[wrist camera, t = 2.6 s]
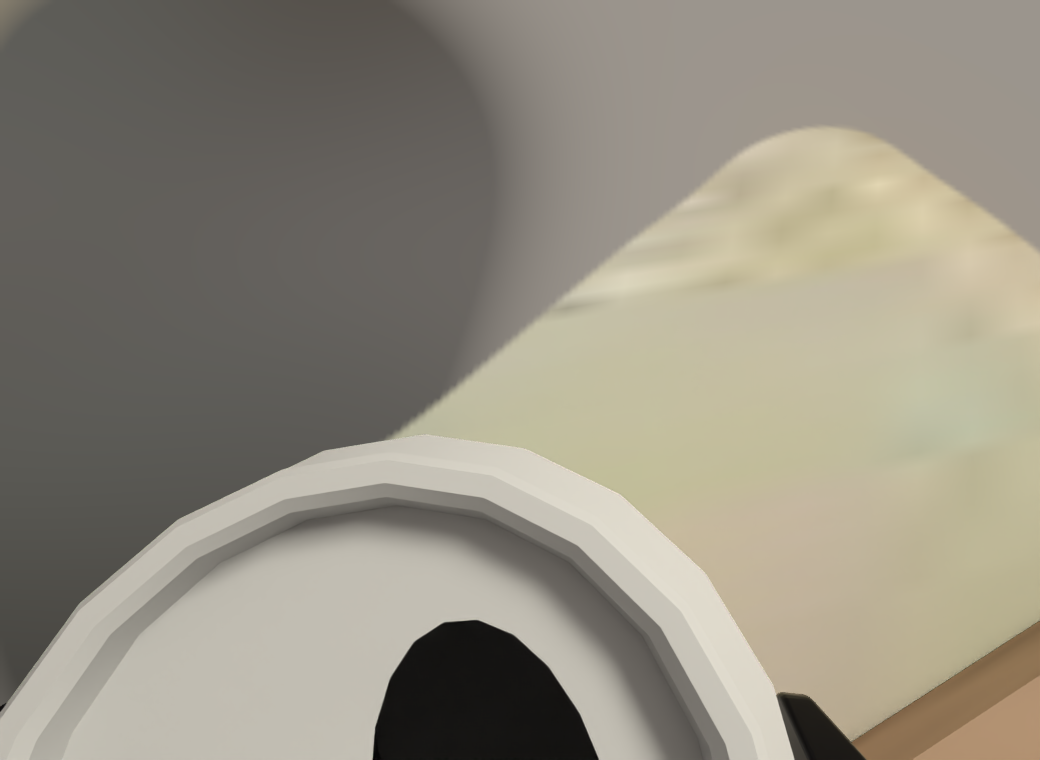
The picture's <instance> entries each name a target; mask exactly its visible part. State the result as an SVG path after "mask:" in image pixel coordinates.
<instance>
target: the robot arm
mask: <svg viewBox="0 0 1040 760" xmlns="http://www.w3.org/2000/svg"><path fill="white" fill-rule="evenodd" d="M776 697H777V700H778V704H779V707H780V711H781V714H782V718H783V721H784V725H785V728H786V732H787V735H788V739H789V742H790V746H791V749H792V753H793V756H794V760H867V759H866V758H865V757H864V756H863V755H862V754H861V753H860V751H859V750H858V749H857V748H856V747H855V746H854V745H853V744H852V743H851V742H850V740H849V739H848V738H847V737H846V736H845V735H844V734H843V733H842V732H841V731H840V729H839V728H838V727H837V726H836V725H835V724H834V723H833V722H832V721H831V719H830V718H829V717H828V716H827V715H826V714H825V713H824V712H823V711H822V710H821V708H820V707H819V706H818V705H817V704H816V703H815V702H814V701H813V700H812V699H811V698H810V697H808V696H806V695H803V694H795V693H785V692H780V693H778V694H777V695H776ZM6 704H7V703H5V704H3V705H2V706H0V712H1V711H2V709H3V708H4V707H5V705H6Z"/></svg>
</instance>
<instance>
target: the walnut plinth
mask: <svg viewBox="0 0 1040 760" xmlns="http://www.w3.org/2000/svg"><path fill="white" fill-rule="evenodd" d="M851 743H852V744H853V745H854V746H855V747H856V748H857V749H858V750H859V751H860V753H861V754H862V755H863V756H864V757H865V758H866V759H867V760H1040V621H1039V622H1037V623H1036V624H1034V625H1033V626H1031V627H1030V628H1028V629H1026V630H1025V631H1023V632H1022V633H1020V634H1019V635H1017V636H1016V637H1014V638H1012V639H1011V640H1009V641H1008V642H1006V643H1005V644H1003V645H1002V646H1000V647H999V648H997V649H995V650H994V651H992V652H991V653H989V654H988V655H986V656H985V657H983V658H981V659H980V660H978V661H977V662H975V663H974V664H972V665H971V666H969V667H967V668H966V669H964V670H963V671H961V672H960V673H958V674H957V675H955V676H954V677H952V678H950V679H949V680H947V681H946V682H944V683H943V684H941V685H940V686H938V687H936V688H935V689H933V690H932V691H930V692H929V693H927V694H926V695H924V696H922V697H921V698H919V699H918V700H916V701H915V702H913V703H912V704H910V705H909V706H907V707H905V708H904V709H902V710H901V711H899V712H898V713H896V714H895V715H893V716H891V717H890V718H888V719H887V720H885V721H884V722H882V723H881V724H879V725H877V726H876V727H874V728H873V729H871V730H870V731H868V732H867V733H865V734H864V735H862V736H860V737H859V738H857V739H856V740H854V741H853V742H851Z"/></svg>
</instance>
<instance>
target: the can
mask: <svg viewBox="0 0 1040 760" xmlns="http://www.w3.org/2000/svg"><path fill="white" fill-rule="evenodd" d="M0 760H794V756H793V753H792V749H791V746H790V742H789V739H788V735H787V732H786V728H785V725H784V721H783V718H782V714H781V711H780V707H779V704H778V700H777V697H776V693H775V690H774V686H773V684H772V683H771V681H770V679H769V678H768V676H767V674H766V673H765V671H764V669H763V668H762V666H761V664H760V663H759V661H758V659H757V658H756V656H755V654H754V653H753V651H752V650H751V648H750V646H749V645H748V643H747V641H746V640H745V638H744V636H743V635H742V633H741V631H740V630H739V628H738V626H737V625H736V623H735V621H734V620H733V618H732V616H731V615H730V613H729V611H728V610H727V608H726V606H725V605H724V603H723V602H722V600H721V598H720V597H719V595H718V593H717V592H716V590H715V588H714V587H713V585H712V583H711V582H710V580H709V578H708V577H707V575H706V573H705V572H704V571H703V570H701V569H700V568H699V567H698V566H697V565H696V564H695V563H694V562H693V561H692V560H691V559H690V558H688V557H687V556H686V555H685V554H684V553H683V552H682V551H681V550H680V549H679V548H678V547H677V546H675V545H674V544H673V543H672V542H671V541H670V540H669V539H668V538H667V537H666V536H665V535H664V534H663V533H661V532H660V531H659V530H658V529H657V528H656V527H655V526H654V525H653V524H652V523H651V522H650V521H648V520H647V519H646V518H645V517H644V516H643V515H642V514H641V513H640V512H639V511H638V510H637V509H635V508H634V507H633V506H632V505H631V504H630V503H629V502H628V501H627V500H626V499H625V498H624V497H622V496H621V495H620V494H618V493H616V492H614V491H612V490H610V489H608V488H606V487H604V486H602V485H600V484H598V483H596V482H594V481H591V480H589V479H587V478H585V477H583V476H581V475H579V474H577V473H575V472H573V471H571V470H569V469H567V468H564V467H562V466H560V465H558V464H556V463H554V462H552V461H550V460H548V459H546V458H544V457H542V456H540V455H537V454H535V453H533V452H531V451H529V450H527V449H525V448H518V447H511V446H504V445H497V444H490V443H483V442H476V441H469V440H462V439H455V438H448V437H441V436H434V435H427V434H423V435H417V436H411V437H405V438H399V439H393V440H387V441H381V442H374V443H368V444H362V445H356V446H351V447H344V448H338V449H331V450H325V451H323V452H321V453H318V454H316V455H315V456H312V457H310V458H308V459H306V460H304V461H302V462H300V463H298V464H296V465H294V466H291V467H289V468H287V469H283V470H281V471H279V472H276V473H274V474H272V475H270V476H268V477H266V478H264V479H262V480H260V481H257V482H255V483H253V484H251V485H249V486H248V487H245V488H243V489H241V490H239V491H237V492H235V493H232V494H231V495H228V496H226V497H224V498H222V499H220V500H218V501H216V502H214V503H212V504H210V505H207V506H205V507H203V508H201V509H199V510H197V511H195V512H193V513H191V514H189V515H187V516H185V517H182V518H181V519H178V520H177V521H176V522H175V523H173V524H172V525H171V526H170V527H169V528H168V529H166V530H165V531H164V532H163V533H162V534H160V535H159V536H158V537H157V538H156V539H155V540H153V541H152V542H151V543H150V544H149V545H148V546H146V547H145V548H144V549H143V550H142V551H140V552H139V553H138V554H137V555H136V556H135V557H133V558H132V559H131V560H130V561H129V562H128V563H126V564H125V565H124V566H123V567H122V568H121V569H119V570H118V571H117V572H116V573H115V574H113V575H112V576H111V577H110V578H109V579H108V580H106V581H105V582H104V583H103V584H102V585H101V586H99V587H98V588H97V589H96V590H95V591H93V592H92V593H91V594H90V595H89V596H88V597H86V598H85V599H84V600H83V601H82V602H81V603H80V604H79V605H78V606H77V608H76V609H75V610H74V612H73V613H72V615H71V616H70V617H69V619H68V620H67V621H66V623H65V624H64V626H63V627H62V628H61V630H60V631H59V632H58V634H57V635H56V637H55V638H54V639H53V641H52V642H51V643H50V645H49V646H48V648H47V649H46V650H45V652H44V653H43V654H42V656H41V657H40V659H39V660H38V661H37V663H36V664H35V665H34V667H33V668H32V670H31V671H30V672H29V674H28V675H27V676H26V678H25V679H24V681H23V682H22V683H21V685H20V686H19V687H18V689H17V690H16V692H15V693H14V694H13V696H12V697H11V698H10V700H9V701H8V702H7V704H6V705H5V707H4V708H3V709H2V711H1V712H0Z"/></svg>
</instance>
